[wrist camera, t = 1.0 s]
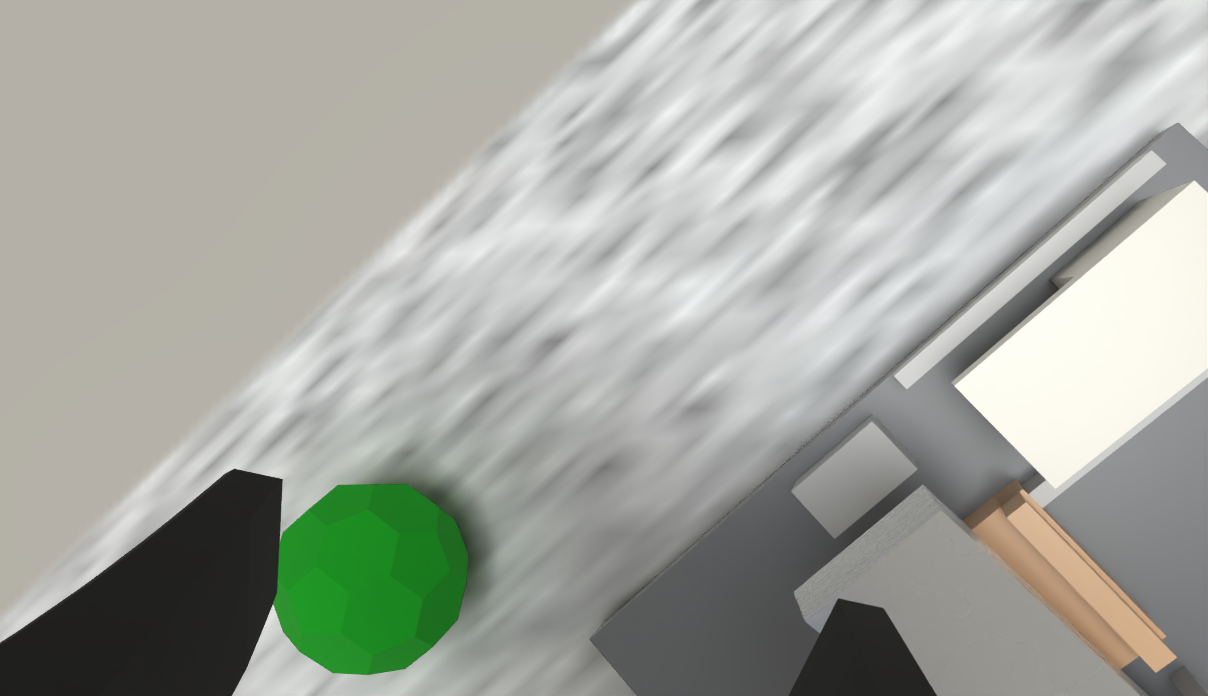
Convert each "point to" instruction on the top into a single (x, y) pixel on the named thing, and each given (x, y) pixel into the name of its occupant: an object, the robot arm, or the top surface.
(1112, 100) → the top surface
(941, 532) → the grey flat bar
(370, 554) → the polyhedron
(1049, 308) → the latch
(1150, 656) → the mount board
